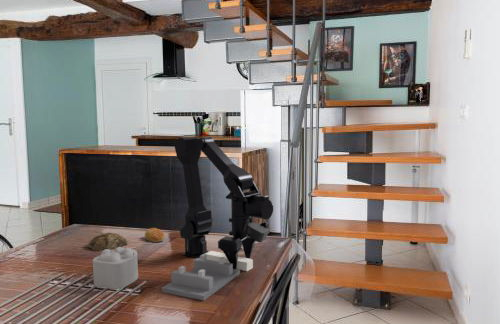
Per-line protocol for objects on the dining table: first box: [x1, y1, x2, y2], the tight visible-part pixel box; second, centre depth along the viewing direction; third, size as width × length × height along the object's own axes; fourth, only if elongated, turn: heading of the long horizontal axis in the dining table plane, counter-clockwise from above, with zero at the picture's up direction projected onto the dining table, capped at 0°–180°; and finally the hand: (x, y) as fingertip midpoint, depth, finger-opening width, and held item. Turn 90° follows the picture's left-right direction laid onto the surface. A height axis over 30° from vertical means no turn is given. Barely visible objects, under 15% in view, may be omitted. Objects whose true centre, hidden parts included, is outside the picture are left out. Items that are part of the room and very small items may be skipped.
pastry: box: [144, 227, 165, 243], centre depth 163 cm, size 9×7×4 cm
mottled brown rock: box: [87, 232, 128, 252], centre depth 156 cm, size 13×12×5 cm
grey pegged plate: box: [161, 254, 241, 302], centre depth 121 cm, size 20×13×6 cm, turn 154°
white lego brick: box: [92, 247, 139, 290], centre depth 123 cm, size 10×13×9 cm
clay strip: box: [205, 250, 254, 272], centre depth 135 cm, size 16×3×3 cm, turn 57°
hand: (241, 264), depth 132 cm, fingers open, 9 cm apart
